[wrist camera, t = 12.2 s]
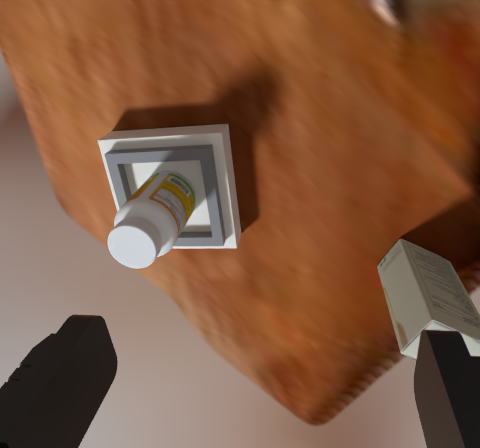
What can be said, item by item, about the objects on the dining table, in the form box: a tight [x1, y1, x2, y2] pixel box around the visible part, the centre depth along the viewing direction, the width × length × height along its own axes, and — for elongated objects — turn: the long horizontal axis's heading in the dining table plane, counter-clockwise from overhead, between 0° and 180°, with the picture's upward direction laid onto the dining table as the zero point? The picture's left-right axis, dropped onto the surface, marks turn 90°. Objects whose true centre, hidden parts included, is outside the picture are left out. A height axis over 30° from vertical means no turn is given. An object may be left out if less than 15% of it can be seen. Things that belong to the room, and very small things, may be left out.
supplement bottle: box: [108, 171, 196, 268], centre depth 35 cm, size 5×5×10 cm
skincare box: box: [377, 239, 480, 360], centre depth 37 cm, size 6×4×12 cm
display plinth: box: [98, 124, 241, 248], centre depth 40 cm, size 12×12×4 cm
